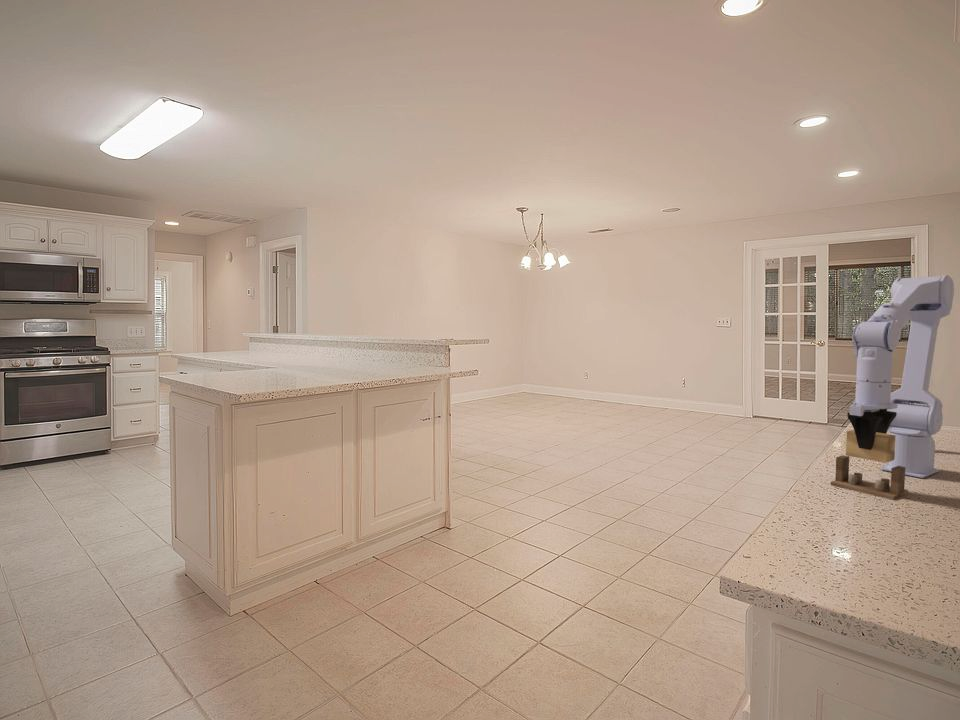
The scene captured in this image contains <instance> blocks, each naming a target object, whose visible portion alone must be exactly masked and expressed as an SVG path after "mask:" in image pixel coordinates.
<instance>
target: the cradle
mask: <svg viewBox="0 0 960 720" xmlns="http://www.w3.org/2000/svg"><path fill="white" fill-rule="evenodd" d="M849 471H850V456H847V455H845V454H844V455H839V456H836V459H835V480H833V481H830V485H831V486H834V487H837V488H842V489H847V490H850V491H851V490H852V491H855V492H860V493H863V494H868V495H870V496H871V495H872V496H876V497H880V498H883V499H888V500H892V501H894V500H895V499H899V498H900V497H903V496H906V495H907V494H909V490H908V489H905V484H906V481H905V480H906V475H905V467H902V466H896V467H893V468H892V469H891V472H890V479H889V478H884V477H883V478H882V477H881V478H880V480H879V479H878V480H877V479H876V480H875V481H874V482H873V481H868V480H864V479H863V473H862V472H854V473H853V474H850V472H849Z"/></svg>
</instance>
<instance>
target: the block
mask: <svg viewBox="0 0 960 720" xmlns="http://www.w3.org/2000/svg"><path fill="white" fill-rule="evenodd" d="M895 438H896V435H890V433H889V434H888V433H886V434H884V433H877V432H876V435H875V440H874V444H873V447H872V449H871V450H868V449H862V448H859V447H858V443H857V439H856V435H855V431H854V429H851V430H848V431H846V440H845V441H846V443H845V456H849V457H854V458H858V459H864V460H869V461H875V462H879V463H883V464H887V463H888V462H890V461H892V460H894V458H895Z"/></svg>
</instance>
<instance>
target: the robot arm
mask: <svg viewBox="0 0 960 720" xmlns="http://www.w3.org/2000/svg"><path fill="white" fill-rule="evenodd" d="M890 287H891V288H890V298H891V300H890V302H884V303H883V304H881V305H880V306H879V307H878V308H877V310H876V311H875V312H874V313H872V315H871V316H870V317H869V319H868V320H867V321H861V322H860V323H858V324H856V325H855V326H854V328H853V331H852V337H851V338H852V340H851V341H852V346H853V347H854V348H853V349H854V351H853V352H854V354H853V355H854V358H855V359H856V378H855V394H854V395H855V398H854V399H855V400H854V401H853V403H852V404H850V405H849V412H847V415H846V416H847V419H848V420H849V422H850V423H851V426H852V428H853V430H854V431H855V435H856V439H857V443H858V447H859V448H862V449H868V450H871V449H872V447H873V444H874V440H875V435H876V432H877V433H884V434H888V432H889V434H890V435H896V438H895V458H894V460H892V461H890V462H887V463H888V464H887V465H883V466H882V467H880V470H881V471H885V472H890V473H891V469H892V468H893V467H896V466H902V467H905V476H912V477H916V478H921V479H924V478H926V477H929V476H931V475H933V474H936V473H938V472H940V469H939V468H935V458H936V457H935V453H936V442H935V440H934V438H933V437H932V436H933V435H936V434H937V433H939V432H940V431H941V428H942V426H943V421H944V420H943V419H944V418H943V417H944V415H943V403H942V401H941V400H940V399H939V398H938V397H937V396H936V395H934V394H933V393H931V392H930V391H929V387H930V381H931V372H932V367H933V360H934V355H935V349H936V342H937V335H938V329H939V325H940V322H941V319H943V318H945V317H947V316H949V315H951V310H952V308H953V302H954V295H955V286H954V279H953V278H952V277H951V276H950V275H949V274H944V275H936V276H920V277H919V276H918V277H897V278H896V279H895V280H894V281H893V283H892V284H891V286H890ZM909 321H910V328H909V335H908V341H907V345H906V346H907V347H906V353H905V360H904V366H903V372H902V377H901V378H902V379H901V386H900V388H898V389H896V390H895V391H892V379H893V378H892V376H893V375H892V373H893V361H894V360H893V359H894V358H893V356H894V351H895V350H896V349H897V348H898V345H899V342H900V338H901V336H902V330H903V329H904V328H905V326H906V325H907V324H908V322H909Z"/></svg>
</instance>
